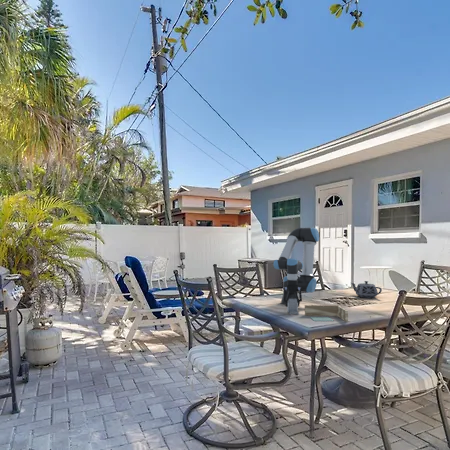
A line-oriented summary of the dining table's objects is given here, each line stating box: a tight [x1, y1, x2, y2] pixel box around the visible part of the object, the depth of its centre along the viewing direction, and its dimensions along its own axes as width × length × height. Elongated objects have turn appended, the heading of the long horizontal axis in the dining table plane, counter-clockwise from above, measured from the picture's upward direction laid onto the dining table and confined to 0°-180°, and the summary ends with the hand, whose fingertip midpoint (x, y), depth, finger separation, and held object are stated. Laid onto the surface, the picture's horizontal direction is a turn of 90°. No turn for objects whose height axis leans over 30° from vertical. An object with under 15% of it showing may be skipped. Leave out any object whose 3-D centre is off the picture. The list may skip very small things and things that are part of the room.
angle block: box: [288, 298, 300, 316], centre depth 239 cm, size 9×6×10 cm, turn 0°
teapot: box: [350, 280, 383, 299], centre depth 308 cm, size 19×31×15 cm, turn 38°
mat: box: [309, 316, 334, 322], centre depth 221 cm, size 10×13×1 cm
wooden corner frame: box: [304, 304, 349, 323], centre depth 224 cm, size 18×24×7 cm
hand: (292, 311), depth 241 cm, fingers closed on angle block, 6 cm apart
